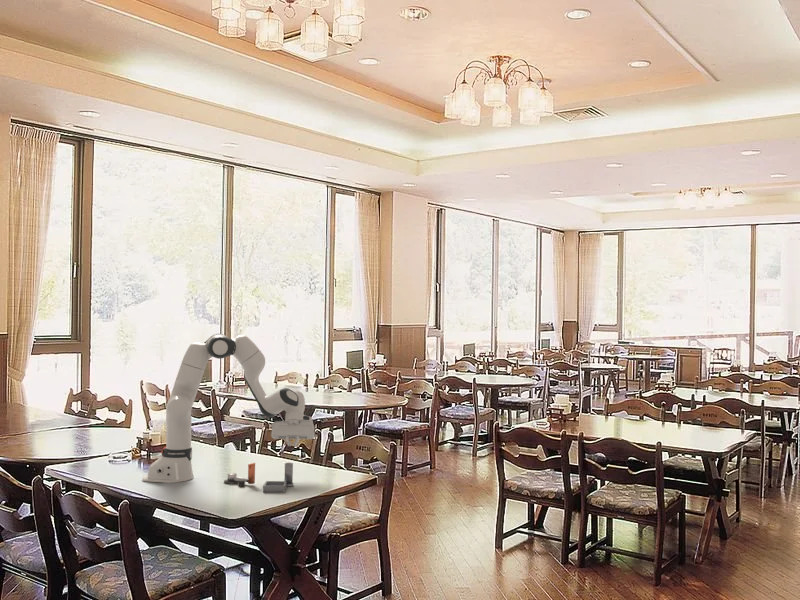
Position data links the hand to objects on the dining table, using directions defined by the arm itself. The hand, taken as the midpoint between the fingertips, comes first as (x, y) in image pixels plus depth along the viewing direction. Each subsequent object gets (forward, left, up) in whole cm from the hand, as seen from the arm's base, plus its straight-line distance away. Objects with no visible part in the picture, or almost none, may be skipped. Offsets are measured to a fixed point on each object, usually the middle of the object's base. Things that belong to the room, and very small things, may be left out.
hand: (292, 445), depth 354 cm
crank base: (-26, -7, -16) cm, 31 cm away
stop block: (-21, -14, -16) cm, 30 cm away
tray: (-5, -21, -16) cm, 27 cm away
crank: (-22, -10, -15) cm, 28 cm away
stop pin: (0, -13, -16) cm, 20 cm away
